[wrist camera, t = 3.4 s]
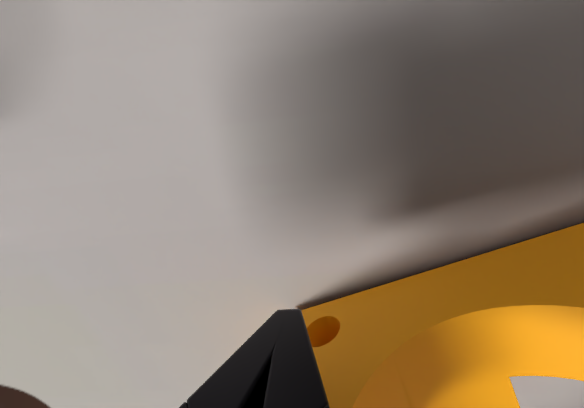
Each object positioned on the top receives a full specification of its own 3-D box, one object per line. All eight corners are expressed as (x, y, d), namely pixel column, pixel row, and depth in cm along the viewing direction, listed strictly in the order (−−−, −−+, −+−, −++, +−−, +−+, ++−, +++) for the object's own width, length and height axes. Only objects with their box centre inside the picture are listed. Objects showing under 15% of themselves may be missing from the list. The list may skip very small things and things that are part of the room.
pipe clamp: (332, 389, 14) (329, 627, 8) (289, 313, 12) (244, 524, 6) (662, 314, 10) (1109, 627, 4) (645, 203, 9) (1214, 419, 3)
